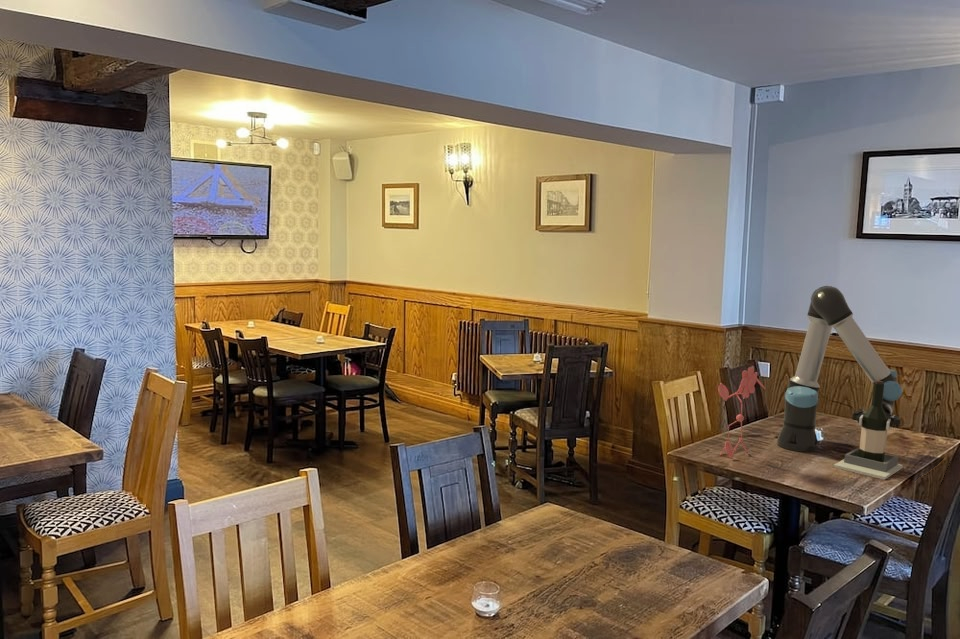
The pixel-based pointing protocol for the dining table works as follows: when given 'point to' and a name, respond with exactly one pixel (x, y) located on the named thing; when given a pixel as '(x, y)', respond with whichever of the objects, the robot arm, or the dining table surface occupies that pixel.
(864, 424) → the wine bottle
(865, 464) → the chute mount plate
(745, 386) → the pink wire flower sculpture
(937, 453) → the dining table surface
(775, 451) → the dining table surface
